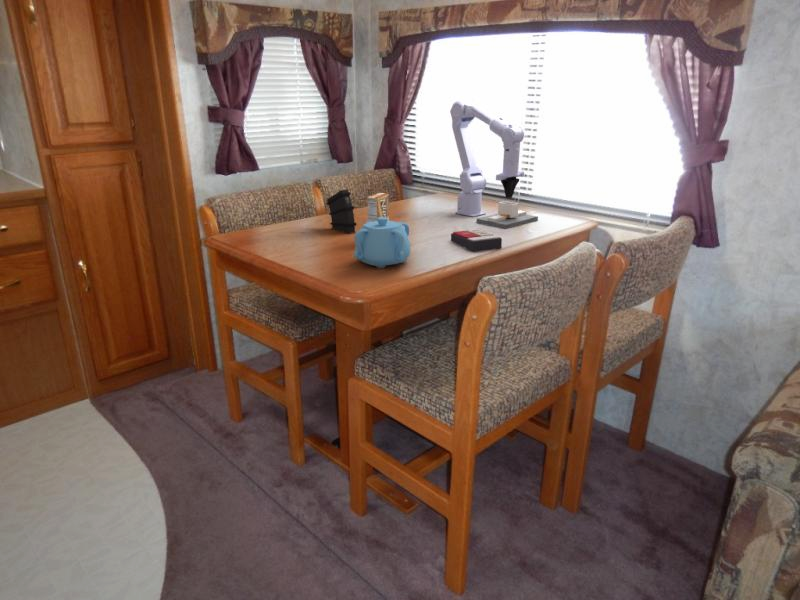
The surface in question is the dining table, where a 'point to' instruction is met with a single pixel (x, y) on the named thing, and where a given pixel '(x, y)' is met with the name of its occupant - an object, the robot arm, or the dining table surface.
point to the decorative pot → (382, 243)
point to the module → (508, 208)
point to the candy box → (378, 206)
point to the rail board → (507, 220)
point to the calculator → (476, 240)
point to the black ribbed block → (342, 212)
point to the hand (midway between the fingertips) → (508, 197)
